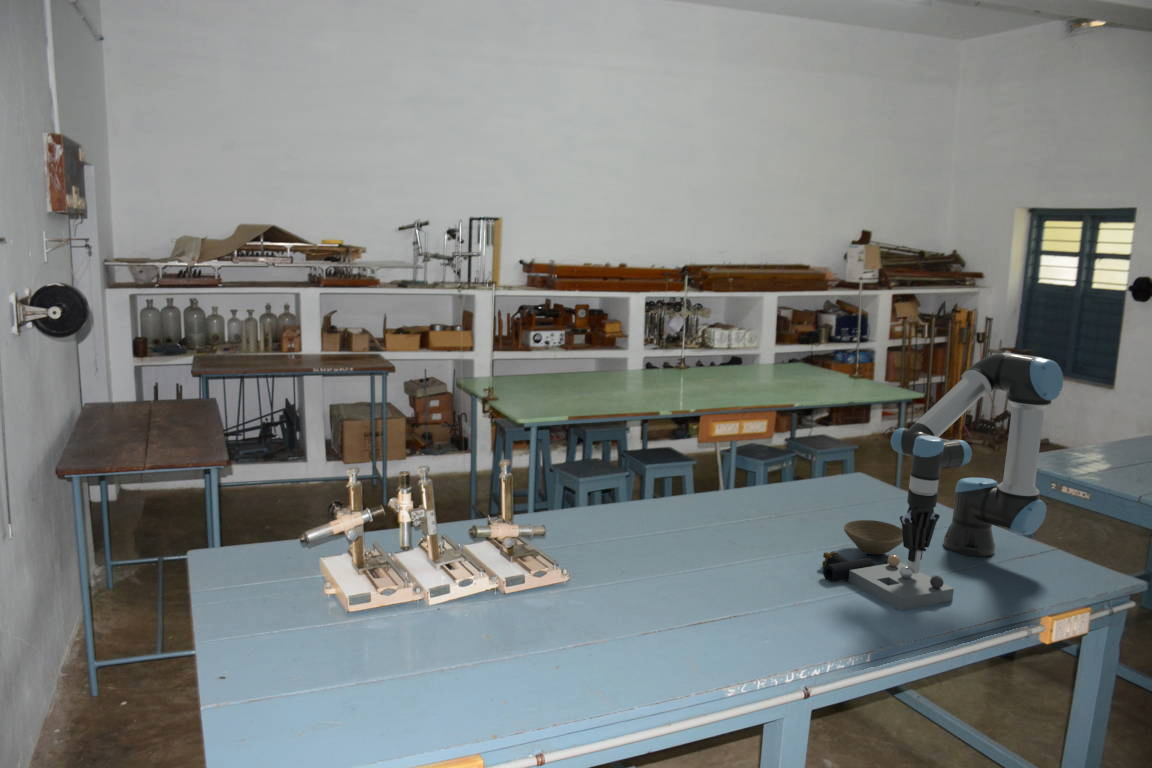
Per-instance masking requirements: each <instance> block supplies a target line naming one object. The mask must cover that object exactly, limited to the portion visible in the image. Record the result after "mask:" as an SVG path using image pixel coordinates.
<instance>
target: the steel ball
mask: <svg viewBox="0 0 1152 768" xmlns="http://www.w3.org/2000/svg"><path fill="white" fill-rule="evenodd" d="M900 575H901V576H902V577H903V578H905V579H909V578H911V577H912V575H913V572H912V569H911V568H909V567H906V566H905V567H902V568H901V569H900Z"/></svg>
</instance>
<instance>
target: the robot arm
mask: <svg viewBox="0 0 1152 768" xmlns="http://www.w3.org/2000/svg"><path fill="white" fill-rule="evenodd" d="M1063 374H1064V373H1063V371H1062V369H1061V367H1060V366H1059V364H1058V362H1056V361H1054V360H1052V359H1048V358H1044V357H1042V356H1035V355H1026V354H1018V353H1013V352H998V353H994V354H992V355H988V356H986V357H984V358H982V359H979V361H977V362H975V363H974V364H972V365H971V366H970V367H969V368H968V369H966V370H965V371H964V372H963V373H962V375H961V379H960V381H958V383H956V384H955V385H954V386H953V387H952V388H951V389H950V390H949V391H947V393H946V394H945V395H943V396H942V397H941V398H940V399H939V400H938V401H937V402H936V403H935V404H934V405H933V406H932V407H931V408H929V410H927V411H926V412H925V413H924V414H923V415H922V416H921V417H920V418H919V419H918V420H917V421H916V422H915V423H914V424H912V425H911V427H909V428H906V427H900V428H897V429H896V430H894V431H893V433H892V435H891V438H890V445H891V448H892V450H893V451H895V452H897V453H899V454H901V455H904V456H908V457H911V458H912V459H911V470H910V476H909V477H910V478H909V486H908V488H909V490H908V492H907V500H906V501H907V504H908V509H907V512H906V514H905V515H904V516H903V515H900V517H899V521H900V523H901V529H902V534H903V542H902V545H903V547H904V548H906V549H908V555H907V556H908V557H907V561H908V563H907V564H908V565H907V566H908V567H909V568H911V569H912V572H913V573H915V574H916V573H919V572H920V567H921V561H922V559H923V558H922V557H923V552H926V551H927V548H929V547H930V545H931V541H932V538H933V536H934V532H935V529H936V525H937V522H938V521H939V519H940V517H941V515H940V514H938V513H936V512H935V510H934V509H935V508H936V506H937V501H938V492H939V485H940V477H941V476H940V475H941V470H945V469H951V468H959V467H962V466H966V465H967V464H968V463H970V461H971V460H972V457H973V451H972V448H971V446H970V444H968V442H967V441H965V440H963V439H952V440H951V439H946V438H942V437H940V436H941V435H943V433H945V432H946V431H947V430H948V429H949V428H951V426H952V425H953V424H954V423H955V422H956V421H957V420H958V419H959V418H960V417H962V416H963V415H964V413H966V412H967V411H968V410H969V409H970V408H971V407H972V406H973V405H974V404H975V403H976V402H978V401H979V400H980V399H981V398H982V397H987V396H989V395H990V394H991V393H992V392H995V391H1002V392H1003V391H1004V392H1007V401H1008V402H1009V403H1010V405H1011V412H1010V414H1011V415H1010V421H1009V431H1008V439H1007V448H1006V454H1005V455H1006V456H1005V464H1004V473H1003V480H1002V481H1001V482H1000V483H998V481H997V480H995V479H993V478H987V477H964V478H961V479H959V480H958V481H957V483H956V488H955V490H954V493H955V495H954V503H953V511H952V512H953V513H952V519H951V523H950V525H949V527H948V529H947V531H946V533H945V534H944V536H943V546H944V547H945V548H947V549H948V550H950V551H953V552H955V553H958V554H961V555H966V556H970V557H971V556H973V557H989V556H990V557H991V556H992V555H995V551H996V544H995V542H994V541H995V540H994V535H993V531H992V529H993V528H992V527H993V526H996V527H998V528H1001V529H1004V530H1007V531H1009V532H1011V533H1013V534H1019V535H1023V536H1029V535H1032V534H1033V533H1035V532H1036V531H1038V529H1039V528H1040V527H1041V526H1042V524H1043V522H1044V520H1045V518H1046V514H1047V505H1046V503H1045V502H1044V501H1043V500H1042V499H1040V494H1041V493H1040V492H1041V491H1040V490H1039V489H1038V488H1037V486H1036V480H1037V472H1038V471H1037V470H1038V464H1039V455H1040V446H1041V439H1042V431H1043V426H1044V425H1043V424H1044V423H1043V422H1044V416H1045V409H1046V408H1048V407H1049V406H1051V405H1052V401H1053V400H1055V399H1057V398H1058V397H1059V396H1060V394H1061V391H1062V389H1063V385H1064V376H1063Z"/></svg>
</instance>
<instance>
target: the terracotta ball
mask: <svg viewBox="0 0 1152 768" xmlns="http://www.w3.org/2000/svg"><path fill="white" fill-rule="evenodd" d="M900 562H901V560H900V557H899V556H897V555H896V554H891V555H889V556H888V557H887V564H889V565H890V566H892V567H896V566H898V565H899V563H900Z"/></svg>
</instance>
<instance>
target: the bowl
mask: <svg viewBox="0 0 1152 768" xmlns="http://www.w3.org/2000/svg"><path fill="white" fill-rule="evenodd" d="M843 531H844V533H845V534H846V535H847V537H848V538H849V539H850V540H851V541H852V543H854V545H855V546H856V547H857V548H858V549H859V550H860V551H862V552H863V553H865V554H868V555H873V556H879V555H884V554H887V553H889V552H891V551H892V550H894V549H895V548H897V547H899V546H900V545H901V544H903V534H902V527H899V526H897V525H895V524H892V523H889V522H884V521H880V520H871V519H870V520H869V519H865V520H864V519H862V520H860V519H858V520H852V521H850V522H847V523H845V524H844V526H843Z"/></svg>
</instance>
